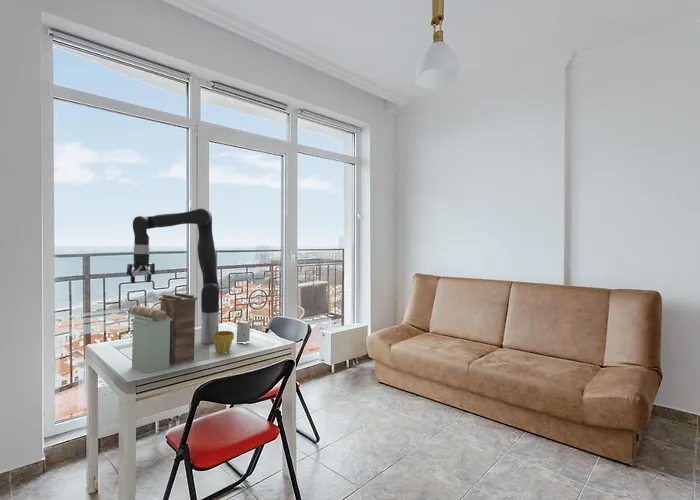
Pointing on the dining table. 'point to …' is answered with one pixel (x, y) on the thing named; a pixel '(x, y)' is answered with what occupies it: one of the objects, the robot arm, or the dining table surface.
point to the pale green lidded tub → (150, 343)
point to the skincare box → (243, 331)
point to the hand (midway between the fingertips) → (140, 282)
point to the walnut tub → (180, 326)
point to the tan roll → (148, 312)
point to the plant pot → (223, 341)
